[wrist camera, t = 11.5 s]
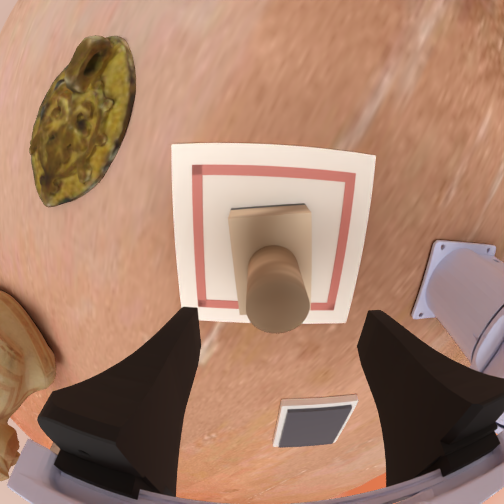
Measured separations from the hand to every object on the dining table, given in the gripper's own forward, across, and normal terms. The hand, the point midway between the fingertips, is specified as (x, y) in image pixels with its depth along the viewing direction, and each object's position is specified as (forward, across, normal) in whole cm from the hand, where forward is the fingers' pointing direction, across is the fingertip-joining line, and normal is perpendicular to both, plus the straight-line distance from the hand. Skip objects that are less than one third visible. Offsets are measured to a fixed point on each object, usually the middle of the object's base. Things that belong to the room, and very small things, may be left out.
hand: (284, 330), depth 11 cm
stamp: (+10, 0, +1) cm, 10 cm away
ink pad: (+10, -7, +24) cm, 27 cm away
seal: (+10, +15, -10) cm, 21 cm away
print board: (+10, 0, 0) cm, 10 cm away
